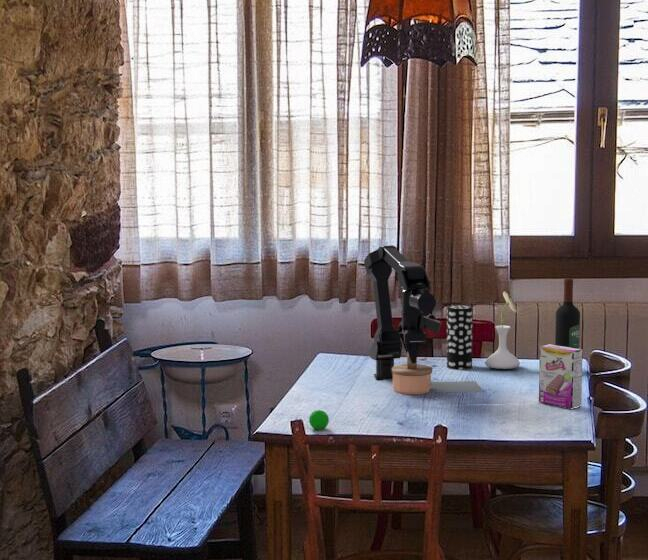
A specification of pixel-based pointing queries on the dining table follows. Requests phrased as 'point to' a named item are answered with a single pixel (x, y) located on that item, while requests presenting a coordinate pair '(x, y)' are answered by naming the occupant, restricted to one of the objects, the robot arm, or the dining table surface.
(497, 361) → the flower in vase
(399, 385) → the bowl
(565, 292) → the wine bottle
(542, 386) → the candy bar box
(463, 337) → the spotted tube
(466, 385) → the mat
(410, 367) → the lid
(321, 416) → the green ball
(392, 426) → the dining table surface
